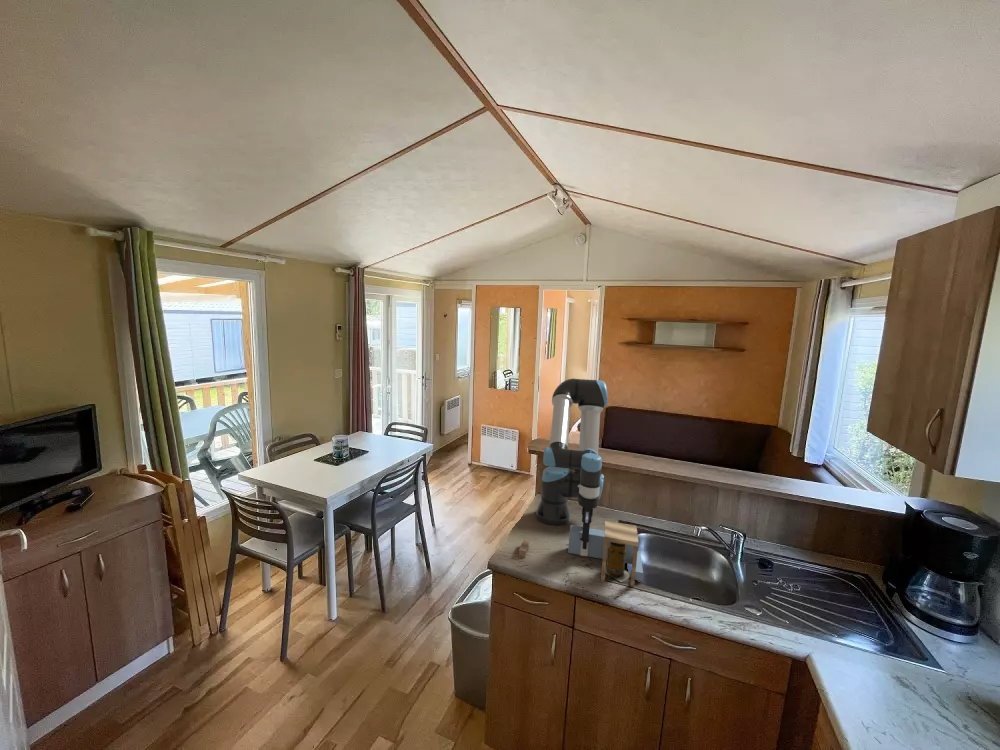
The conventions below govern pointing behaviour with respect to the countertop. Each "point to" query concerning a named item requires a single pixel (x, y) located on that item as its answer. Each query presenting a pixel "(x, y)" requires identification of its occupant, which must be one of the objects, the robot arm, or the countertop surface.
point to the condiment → (617, 562)
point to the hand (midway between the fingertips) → (584, 551)
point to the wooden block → (524, 548)
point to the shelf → (622, 536)
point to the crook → (600, 547)
